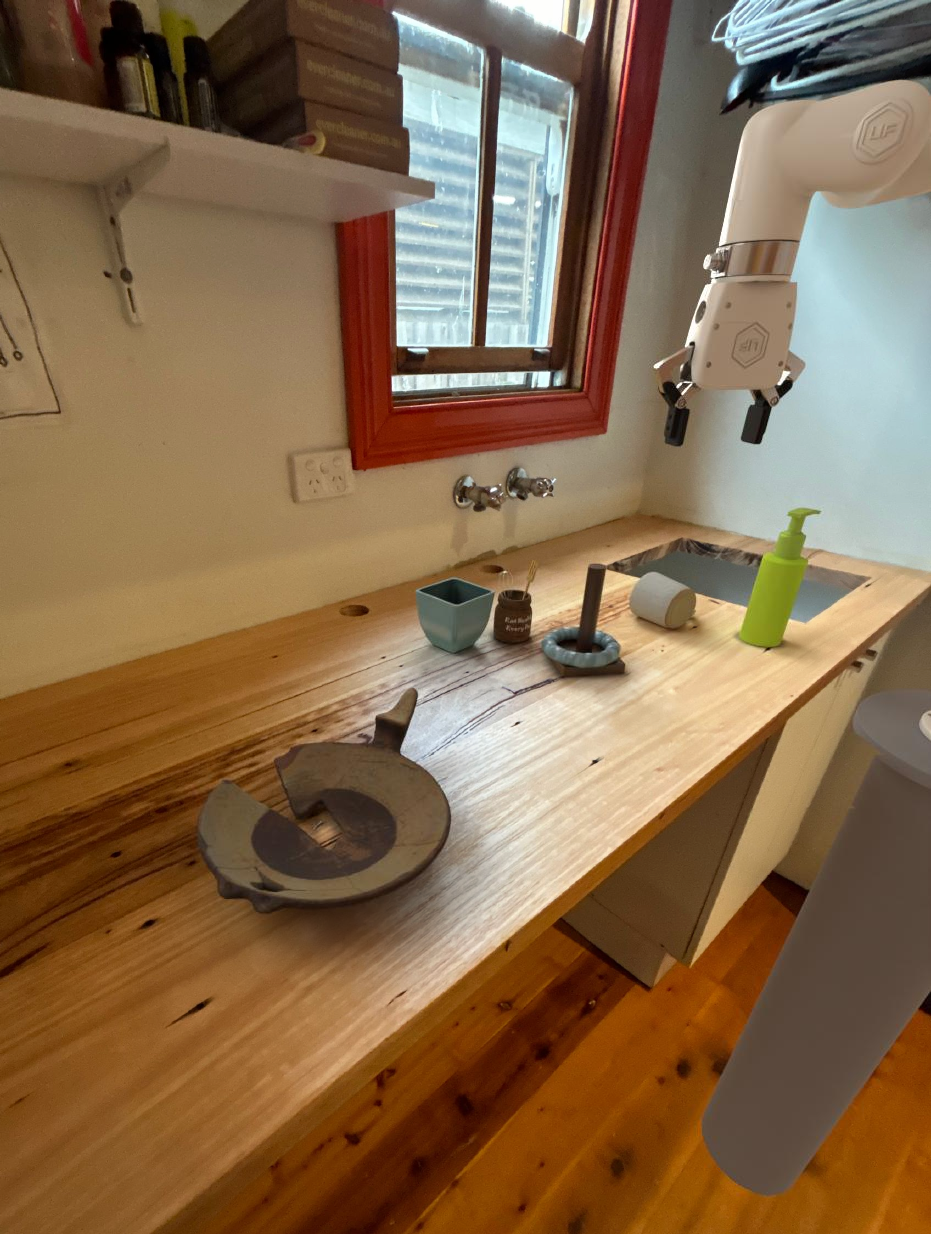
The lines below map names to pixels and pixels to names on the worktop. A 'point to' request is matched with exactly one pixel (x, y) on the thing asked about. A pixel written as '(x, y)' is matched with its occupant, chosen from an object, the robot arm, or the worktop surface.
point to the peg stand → (589, 628)
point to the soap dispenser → (777, 585)
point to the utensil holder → (514, 612)
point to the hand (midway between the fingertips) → (711, 443)
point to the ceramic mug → (662, 600)
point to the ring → (578, 658)
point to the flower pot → (454, 612)
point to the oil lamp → (358, 802)
